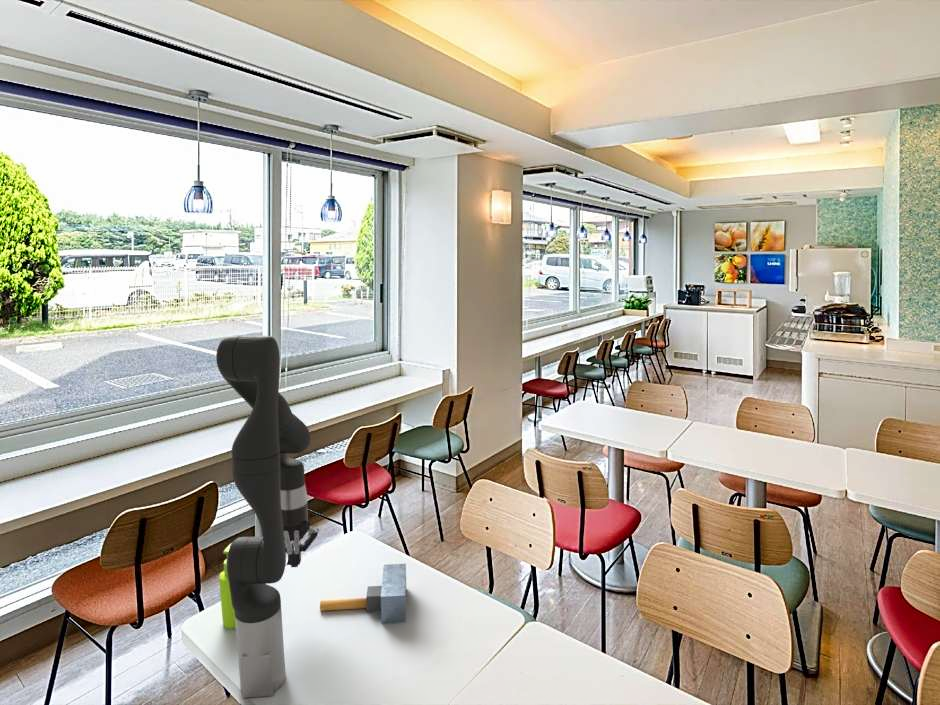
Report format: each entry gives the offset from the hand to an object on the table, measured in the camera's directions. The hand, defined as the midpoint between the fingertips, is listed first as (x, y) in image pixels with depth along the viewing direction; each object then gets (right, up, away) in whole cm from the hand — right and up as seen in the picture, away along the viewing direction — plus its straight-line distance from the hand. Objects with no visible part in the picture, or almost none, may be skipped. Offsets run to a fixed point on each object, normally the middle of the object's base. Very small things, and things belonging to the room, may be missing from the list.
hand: (295, 565), depth 145 cm
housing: (+25, -12, +5) cm, 28 cm away
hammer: (+14, -12, +4) cm, 19 cm away
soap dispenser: (-14, -14, -1) cm, 20 cm away
